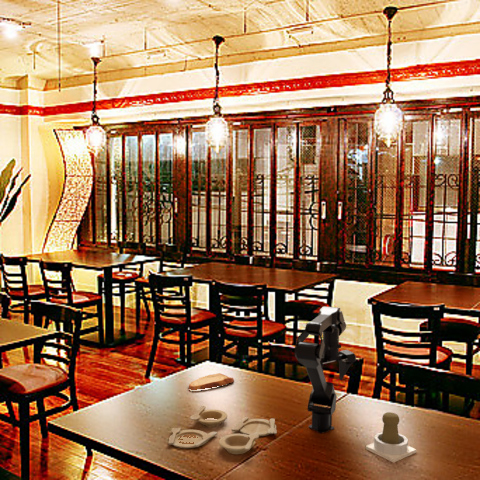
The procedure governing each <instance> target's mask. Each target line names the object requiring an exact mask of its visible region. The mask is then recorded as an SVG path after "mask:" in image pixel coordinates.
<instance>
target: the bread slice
mask: <svg viewBox="0 0 480 480" xmlns="http://www.w3.org/2000/svg"><path fill="white" fill-rule="evenodd" d="M232 382H233V383H234V382H235V379H234V377H230V376H228V375H227V374H223V373H220V372H219V373H213V374H209V375H205V376H202V377H198V378H197V379H195V380H192V382H190V383H189V385H188V387H189V389H191V390H197V389H205V388H212V387H217V386H222V385H225V386H227V385H226V384H228V385H230V384H229V383H231V384H233V383H232Z"/></svg>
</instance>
